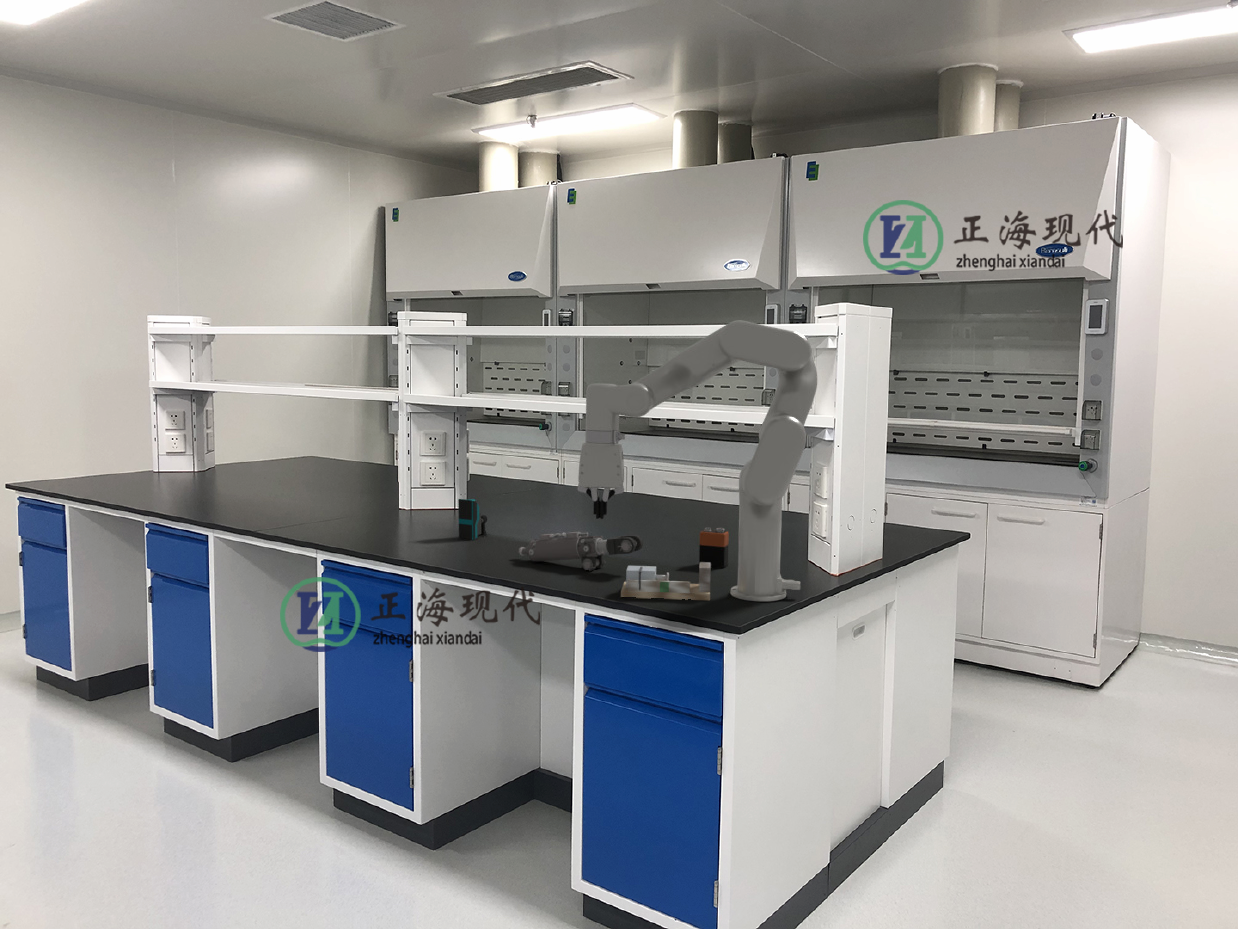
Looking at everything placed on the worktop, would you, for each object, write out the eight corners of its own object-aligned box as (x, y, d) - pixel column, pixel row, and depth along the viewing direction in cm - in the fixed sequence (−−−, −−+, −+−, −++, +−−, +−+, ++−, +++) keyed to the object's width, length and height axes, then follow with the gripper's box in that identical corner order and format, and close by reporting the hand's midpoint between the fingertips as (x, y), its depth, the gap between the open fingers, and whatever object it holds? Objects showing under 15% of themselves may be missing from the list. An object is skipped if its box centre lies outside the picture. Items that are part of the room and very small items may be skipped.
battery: (723, 568, 241) (724, 530, 240) (698, 566, 244) (699, 528, 243) (728, 565, 245) (729, 527, 244) (703, 563, 248) (704, 525, 247)
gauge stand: (709, 590, 218) (710, 561, 217) (709, 600, 209) (710, 569, 208) (624, 587, 220) (624, 558, 219) (620, 597, 211) (621, 567, 210)
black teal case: (493, 496, 282) (472, 500, 274) (493, 535, 284) (472, 541, 275) (478, 494, 285) (457, 498, 276) (478, 533, 286) (457, 539, 278)
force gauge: (668, 583, 217) (669, 565, 216) (667, 592, 209) (667, 572, 208) (628, 582, 217) (628, 564, 217) (625, 590, 210) (625, 571, 209)
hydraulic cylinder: (635, 569, 229) (629, 529, 229) (515, 575, 248) (510, 538, 247) (648, 564, 235) (643, 524, 235) (530, 570, 254) (526, 533, 254)
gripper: (636, 437, 215) (634, 516, 217) (571, 435, 216) (570, 514, 218) (633, 440, 207) (631, 522, 209) (566, 438, 209) (565, 519, 211)
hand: (600, 517), depth 214 cm, fingers closed
